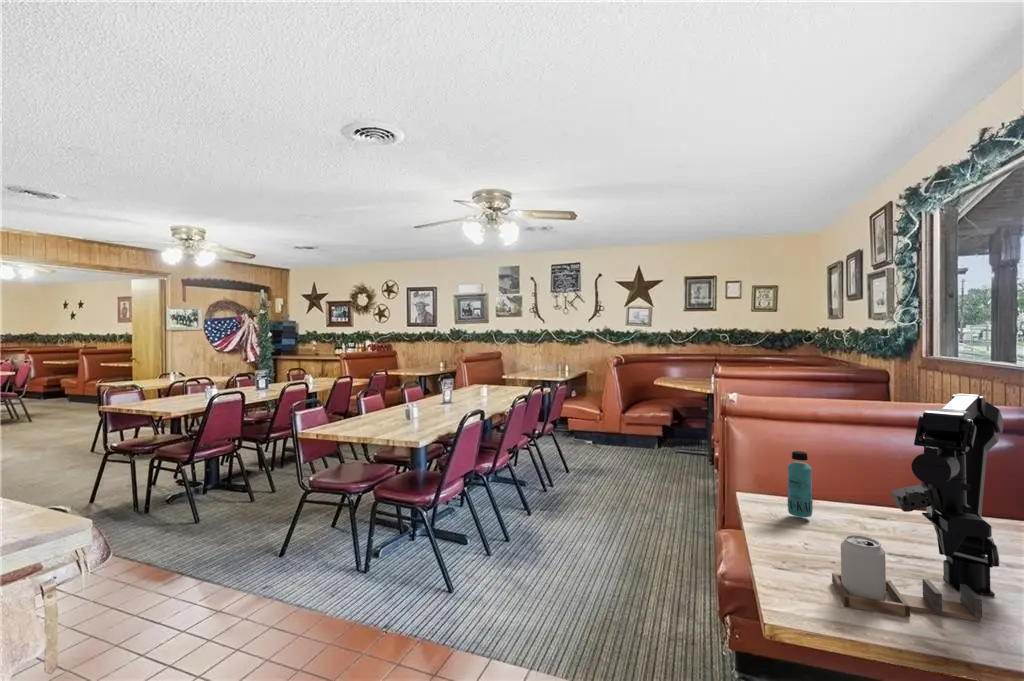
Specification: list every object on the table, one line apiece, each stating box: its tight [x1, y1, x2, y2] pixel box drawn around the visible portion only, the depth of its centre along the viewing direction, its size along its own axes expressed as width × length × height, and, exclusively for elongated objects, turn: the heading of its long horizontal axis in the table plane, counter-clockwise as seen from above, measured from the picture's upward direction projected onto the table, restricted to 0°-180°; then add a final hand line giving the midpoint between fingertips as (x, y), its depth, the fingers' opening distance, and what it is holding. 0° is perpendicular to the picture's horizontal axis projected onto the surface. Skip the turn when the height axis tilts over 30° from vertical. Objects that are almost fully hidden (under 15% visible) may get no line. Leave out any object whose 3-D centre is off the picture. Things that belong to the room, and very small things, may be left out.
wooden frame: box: [831, 572, 983, 622], centre depth 98 cm, size 22×11×4 cm, turn 68°
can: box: [840, 534, 887, 601], centre depth 101 cm, size 8×8×12 cm
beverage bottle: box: [786, 450, 814, 518], centre depth 146 cm, size 6×7×20 cm
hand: (947, 555), depth 96 cm, fingers closed
